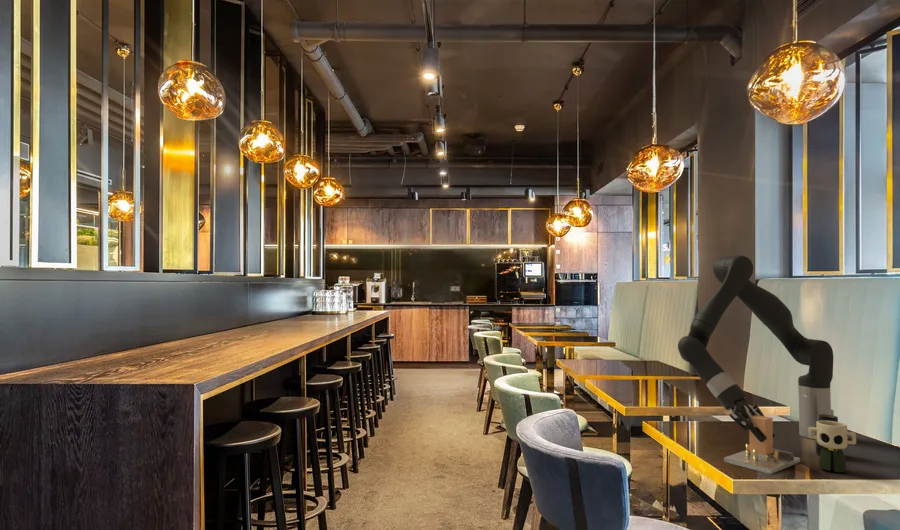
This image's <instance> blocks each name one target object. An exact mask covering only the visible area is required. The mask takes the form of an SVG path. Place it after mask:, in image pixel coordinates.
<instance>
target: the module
mask: <svg viewBox="0 0 900 530" xmlns="http://www.w3.org/2000/svg"><path fill="white" fill-rule="evenodd" d="M752 418H753V422H754V423H755V424H756V425H757V427H758V428H759V429H760V430H761V431H762V433H763V434H764V435H765V436H766V437H767V439H766V440H765V441H763V442H760V441H759V440H758V439H757V438H756V437H755V435H754V434H753V433H752V432H750V431H748V432H749V433H748V434H749V444H750V451H751V452H753V449H757V450H758V453H759V454H763V455H768V454H770V453H773V448H774V437H773V433H774V429H773V426H774V425H773V423H774V422H773V420H774V419H773V417H771V416H765V415H764V416H760V415H758V416H757V415H754V416H752ZM757 427H756V428H757Z"/></svg>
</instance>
